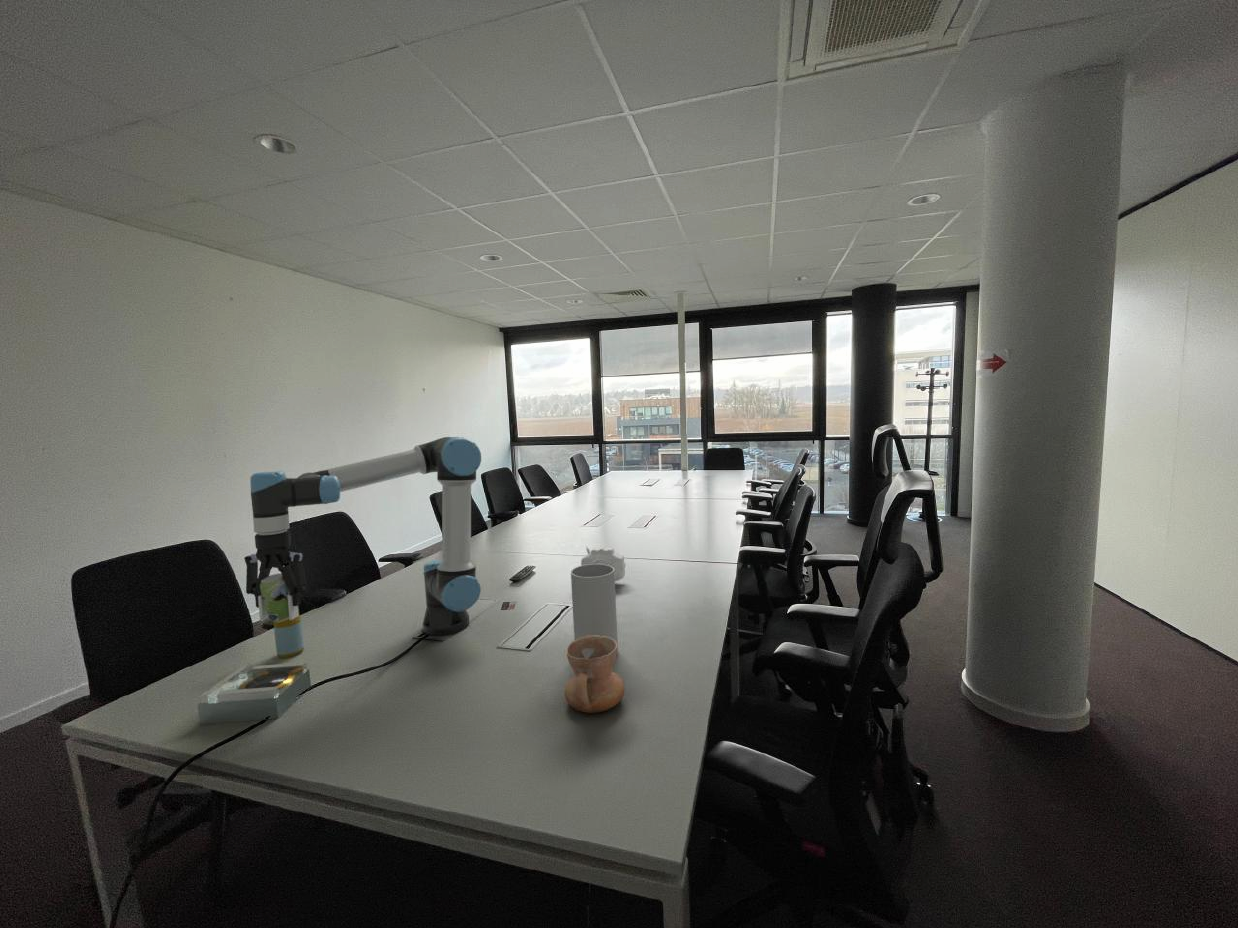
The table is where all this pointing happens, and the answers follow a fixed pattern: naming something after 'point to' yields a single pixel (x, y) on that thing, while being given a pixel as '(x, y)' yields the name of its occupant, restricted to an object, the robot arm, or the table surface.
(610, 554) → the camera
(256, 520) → the robot arm
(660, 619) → the table surface
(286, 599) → the beverage can
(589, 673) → the ceramic jug
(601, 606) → the cylinder vase
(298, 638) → the bottle
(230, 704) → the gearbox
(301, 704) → the table surface
